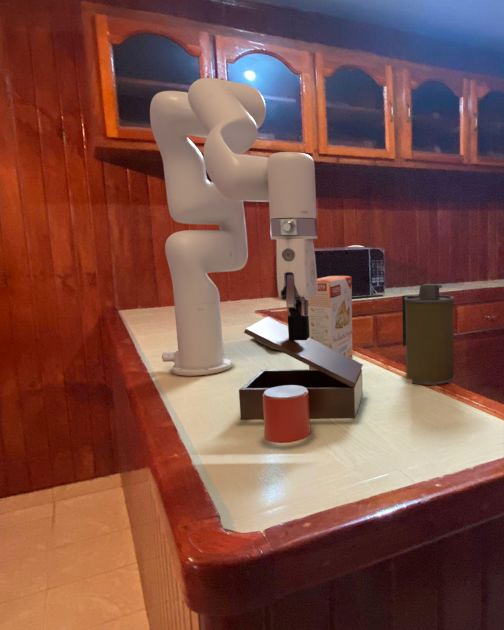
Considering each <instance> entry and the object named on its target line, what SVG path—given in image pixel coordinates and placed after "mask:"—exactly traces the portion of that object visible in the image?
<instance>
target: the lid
mask: <svg viewBox="0 0 504 630" xmlns="http://www.w3.org/2000/svg"><path fill="white" fill-rule="evenodd" d="M243 333H244V334H245V335H246V336H249V337H251V338H253V339H254V340H256V339H257V340H259V341H261V342H263V343H265V344H267V345H269V346H271V347H273V348H275V349H274V350H276V349H277V350H276V351H279V352H281V353H283V354H285V355H287V356H289V357H291V358H293V359H294V360H297V361H298V362H299V361H300V362H301V363H303V364H304V365H306V366H308V367H309V366H311V367H313V368H315V369H317V370H319V371H321V372H323V373H325V374H327V375H329V376H331V377H333V378H335V379H337V380H339V381H341V382H343V383H345V384H347V385H349V386H351V387H354V385H355V383H356V380H357V378H358V375H359V373H360V371H361V369H362V368H363V366H364V364H362V363H361V362H359V361H356V360H355V359H354V358H353V359H351V358H349V357H347V356H345V355H343V354H341V353H339V352H337V351H335V350H333V349H331V348H329V347H327V346H325V345H323V344H321V343H319V342H317V341H315V340H313V339H311V338H308V339H307V340H289V334H288V325H286V324H283V323H282V322H280V321H278V320H276V319H274V318H272V317H270V316H266V317H264V318H262V319H261V320H259V321H257V322H255V323H253V324H251V325H249V326H248V327H246V328H245V329H244V331H243ZM257 340H256V341H257ZM259 341H258V342H259Z"/></svg>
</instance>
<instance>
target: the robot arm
mask: <svg viewBox="0 0 504 630" xmlns="http://www.w3.org/2000/svg"><path fill="white" fill-rule="evenodd" d="M150 101H151V102H150V105H149V121H150V127H151V131H152V134H153V138H154V141H155V142H156V145H157V148H158V151H159V153H160V156H161V160H162V164H163V174H164V183H165V184H164V185H165V190H166V191H165V192H166V200H167V201H166V203H167V207H168V213H169V216H170V217H171V218H172V219H173V221H174V222H176V223H180V224H184V225H217V226H218V228H219V229H217V230H216V229H214V230H213V229H211V230H210V229H188V230H187V229H186V230H181V231H176V232H173V233H172V234H170V235H169V236H168V237H167V239H166V241H165V245H164V252H165V257H166V260H167V261H166V262H167V264H168V269H169V273H170V278H171V283H172V293H173V305H174V315H175V326H176V327H175V328H176V340H177V341H176V342H177V350H176V351H174V352H172V351H163V352H162V354H161V360H162V362H164V363H169V362H173V363H174V365H172V367H171V371H172V373H173V375H177V376H184V377H185V376H186V377H189V376H190V377H192V376H193V377H194V376H205V375H214V374H219V373H221V372H225V371H227V370H229V369H231V367H232V361H231V360H230V359H227V358H224V356H225V355H224V343H223V341H224V340H223V326H222V310H221V298H220V297H221V295H220V291H219V289H218V287H217V285H216V284H215V283H214V282H213V280H212V279H211V278H210V277H209V275H208V274H210V273H225V272H227V273H228V272H236V271H240V270H242V269H243V268H245V266H246V265H247V262H248V257H249V248H248V247H249V246H248V235H247V225H246V224H247V223H246V215H245V206H244V205H245V204H244V202H263V203H268V207H269V224H270V225H269V226H270V240H276V251H275V253H276V283H277V284H276V285H277V294H278V298H279V299H281V300H282V301H285V303H286V312H287V313H286V315H287V326H288V334H289V340H307V339H308V338H309V315H308V299H310V298H312V297H313V296H315V295H316V294H317V293H318V285H317V278H318V275H317V263H316V262H317V261H316V253H315V252H316V251H315V245H314V240H318V221H317V220H318V219H317V198H316V197H317V195H316V194H317V193H316V171H315V170H316V169H315V161H314V158H313V157H312V156H310V155H309V154H307V153H304V152H297V151H279V152H274V153H272V154H270V155H269V156H260V155H251V154H244V153H245V152H247V151H249V150H250V149H251V148H252V147H253V146H254V144H255V143H256V141H257V138H258V133H259V132H258V131H259V130H258V129H259V128H260V127H261V126H262V125H263V123H264V122H265V119H266V115H267V106H266V105H267V104H266V102H265V101H266V100H265V99H264V97H263V95H262V93H261V92H260V91H259V90H258V89H257V88H255V87H254V86H252V85H249V84H245V83H240V82H234V81H231V80H227V79H222V78H215V77H202V78H198V79H196V80H195V81H194V82H193V83H191V85H190V86H189V88H188V91H187V92H186V91H180V90H179V91H178V90H164V91H160V92H157V93H156V94H155V95H154V96H153V97H152V99H151V100H150ZM188 136H189V137H190V136H192V137H199V138H205V141H204V145H203V153H202V152H201V151H200V150H199V148H198V147H197V146H196V144H195V143H194V142H193V141H192V140H191V139H190V138H189V137H188ZM207 175H208V176H207ZM208 177H209V179H210V180H211V181H210V180H209V179H208Z"/></svg>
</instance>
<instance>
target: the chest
mask: <svg viewBox="0 0 504 630" xmlns="http://www.w3.org/2000/svg"><path fill="white" fill-rule="evenodd" d="M284 385H298V386H303V387H305V388H306V389H307V390H308V395H309V418H310V420H332V419H333V420H334V419H335V420H336V419H338V420H339V419H342V420H343V419H344V420H345V419H346V420H347V419H356V417H357V414H358V410H359V408H360V405H361V402H362V398H363V395H364V394H363V392H364V391H363V389H364V388H363V369H362V368H361V371H360V373H359V375H358V378H357V380H356V383H355V385H354V387H351V386H349V385H347V384H345V383H343V382H341V381H339V380H337V379H335V378H333V377H331V376H329V375H327V374H325V373H323V372H321V371H319V370H317V369H312V370H309V369H260V371H258V373H256V374H255V375H254V376H253V377H252V378H250V379H249V380H248V381H247V382H246V383H245V384H243V386H242V387H240V388H239V389H238V397H239V413H240V420H241V421H243V420H244V421H247V420H248V421H249V420H250V421H251V420H252V421H254V420H261V421H262V420H264V413H263V393H264V392H265V391H266V390H267V389H270V388H273V387H277V386H284Z"/></svg>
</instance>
